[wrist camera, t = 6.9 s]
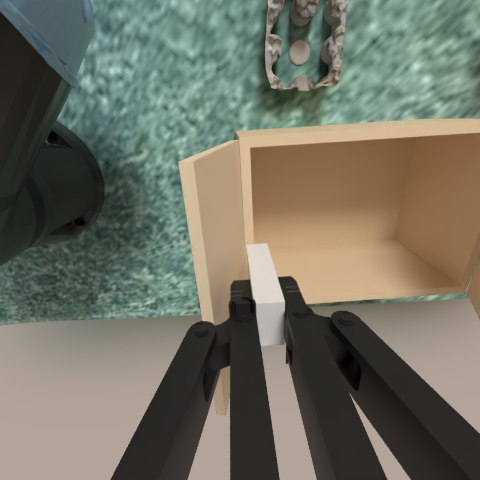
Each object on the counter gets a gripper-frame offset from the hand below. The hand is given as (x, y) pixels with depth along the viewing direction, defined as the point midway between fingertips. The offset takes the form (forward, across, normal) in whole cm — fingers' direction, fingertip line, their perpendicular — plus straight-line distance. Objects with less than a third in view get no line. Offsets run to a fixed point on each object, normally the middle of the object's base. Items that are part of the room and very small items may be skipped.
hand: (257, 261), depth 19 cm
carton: (+17, +10, 0) cm, 20 cm away
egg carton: (+17, +6, +17) cm, 25 cm away
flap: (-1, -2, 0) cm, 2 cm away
